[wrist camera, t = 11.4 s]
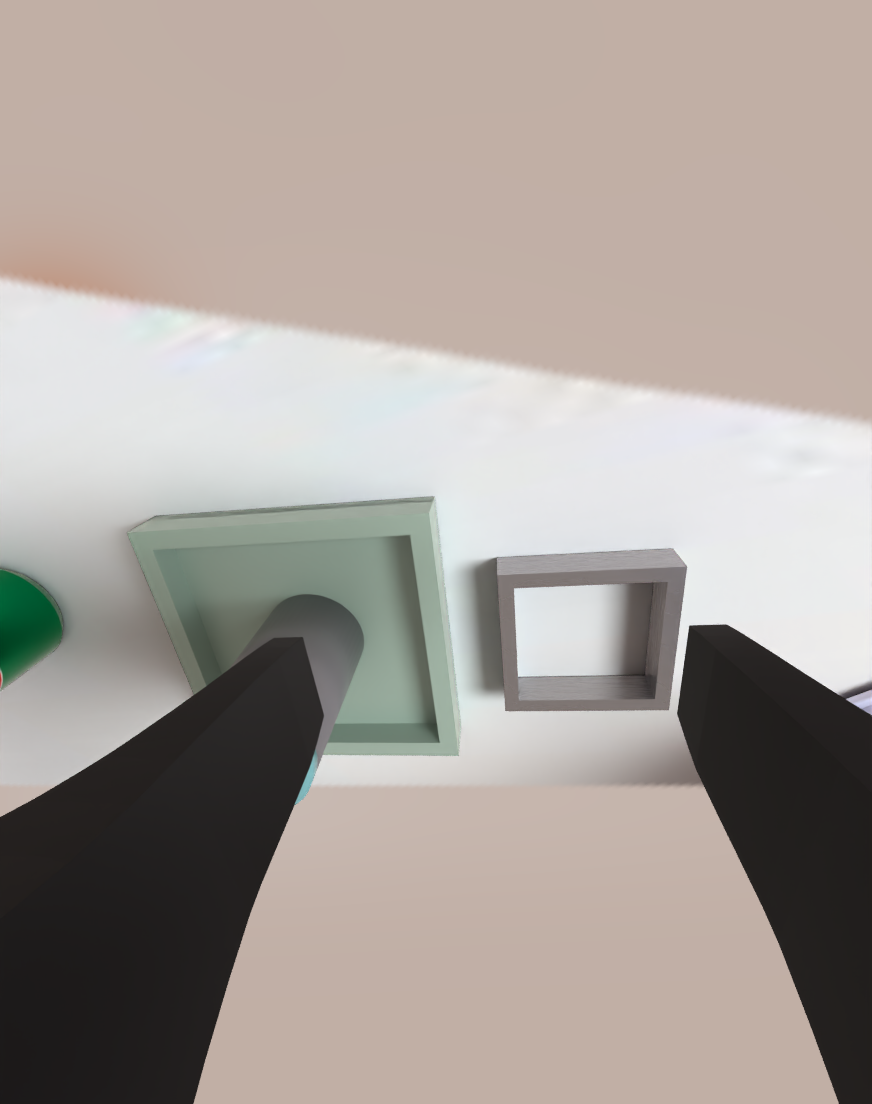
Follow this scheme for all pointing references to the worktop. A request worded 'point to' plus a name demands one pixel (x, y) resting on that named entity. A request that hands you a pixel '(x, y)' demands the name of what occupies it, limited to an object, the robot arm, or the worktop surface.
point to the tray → (327, 570)
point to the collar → (595, 570)
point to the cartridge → (318, 654)
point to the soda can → (25, 625)
